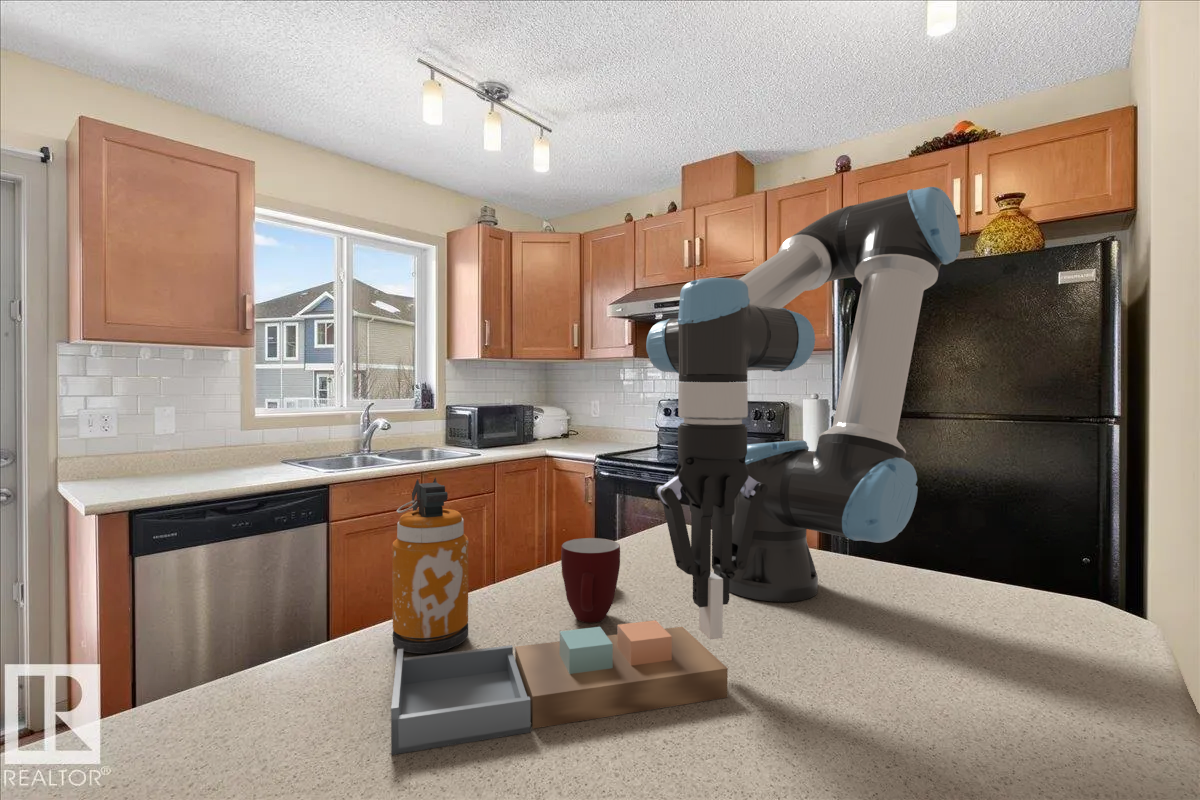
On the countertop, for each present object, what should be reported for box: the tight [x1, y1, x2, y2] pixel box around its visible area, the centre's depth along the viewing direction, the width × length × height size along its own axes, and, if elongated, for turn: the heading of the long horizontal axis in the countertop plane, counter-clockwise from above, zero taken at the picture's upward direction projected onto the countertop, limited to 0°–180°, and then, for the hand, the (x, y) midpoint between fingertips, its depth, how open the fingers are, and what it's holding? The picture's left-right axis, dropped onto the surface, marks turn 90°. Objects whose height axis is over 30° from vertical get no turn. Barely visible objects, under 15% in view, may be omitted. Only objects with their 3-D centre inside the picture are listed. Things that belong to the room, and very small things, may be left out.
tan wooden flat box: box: [514, 626, 729, 730], centre depth 63 cm, size 20×11×3 cm, turn 106°
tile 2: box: [616, 620, 672, 666], centre depth 63 cm, size 4×4×2 cm
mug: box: [560, 537, 621, 624], centre depth 80 cm, size 11×8×10 cm
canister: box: [391, 477, 469, 655], centre depth 74 cm, size 9×11×20 cm
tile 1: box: [559, 626, 613, 674], centre depth 62 cm, size 4×4×2 cm
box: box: [390, 644, 531, 756], centre depth 58 cm, size 12×12×4 cm
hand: (710, 633), depth 66 cm, fingers closed
